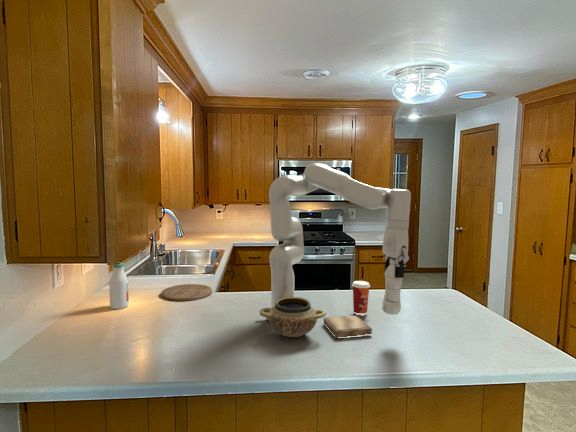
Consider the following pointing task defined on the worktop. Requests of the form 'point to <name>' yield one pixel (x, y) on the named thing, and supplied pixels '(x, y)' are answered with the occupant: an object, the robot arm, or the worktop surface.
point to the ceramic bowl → (292, 317)
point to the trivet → (186, 292)
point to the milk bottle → (118, 288)
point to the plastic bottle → (392, 290)
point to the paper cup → (360, 296)
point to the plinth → (347, 326)
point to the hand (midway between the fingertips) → (393, 274)
